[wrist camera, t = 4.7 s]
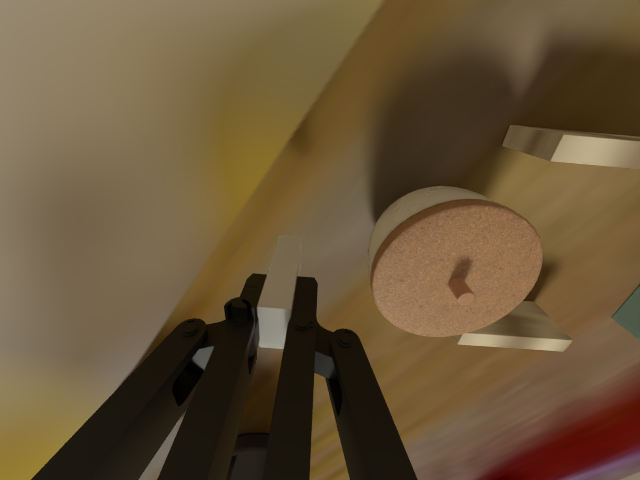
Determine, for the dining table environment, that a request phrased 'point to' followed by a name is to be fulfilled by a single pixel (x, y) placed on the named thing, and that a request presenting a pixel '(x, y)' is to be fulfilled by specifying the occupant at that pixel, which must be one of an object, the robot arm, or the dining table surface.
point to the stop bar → (630, 314)
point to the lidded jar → (450, 261)
